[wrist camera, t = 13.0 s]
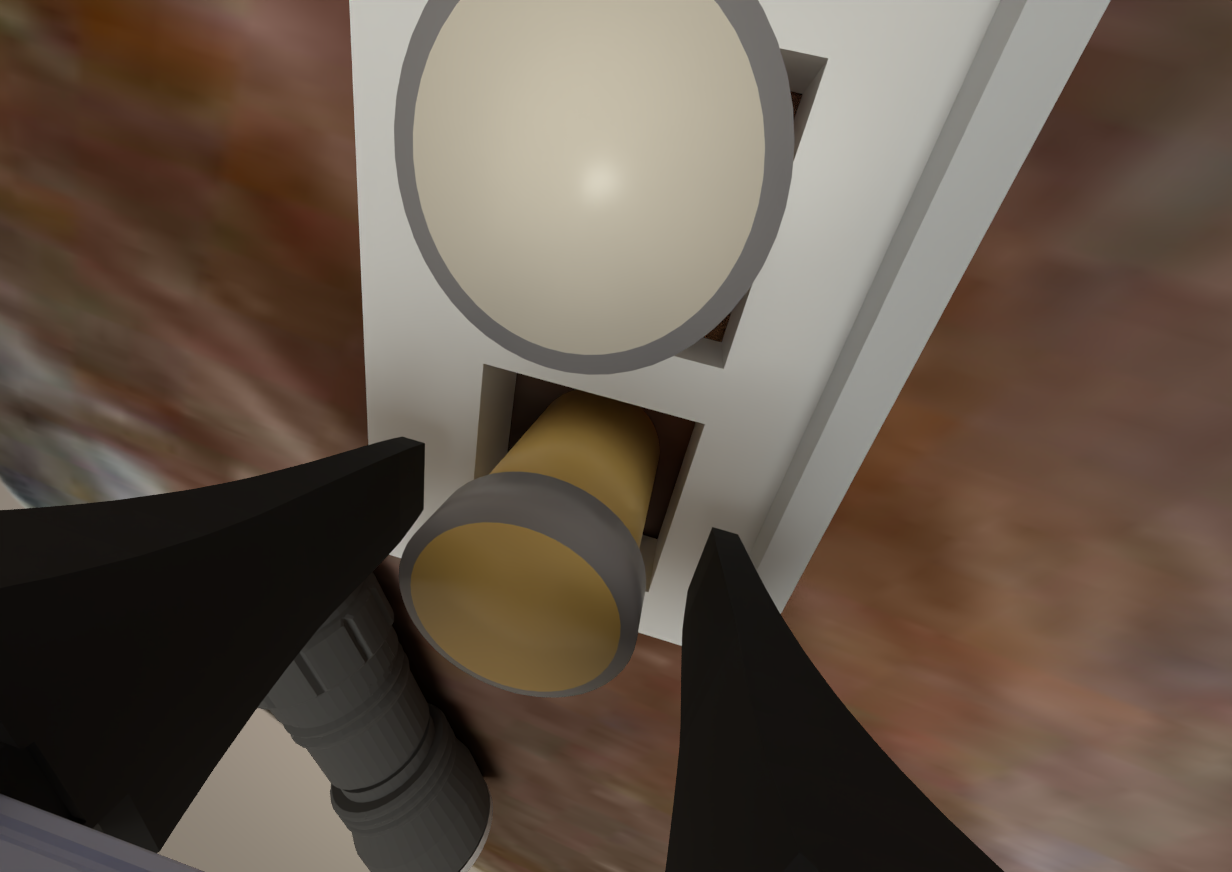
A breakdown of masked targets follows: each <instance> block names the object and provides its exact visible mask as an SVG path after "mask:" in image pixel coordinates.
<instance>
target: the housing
mask: <svg viewBox="0 0 1232 872" xmlns="http://www.w3.org/2000/svg"><path fill="white" fill-rule="evenodd" d="M758 1H759V3H760V4H761V6H762V8H763V10H764V12H765V14H766V16H767V19H768V21H769V23H770V25H771V27H772V30H773V32H774V34H775V36H776V38H777V41H778V44H779V48H780V51H781V54H782V58H783V61H784V64H785V68H786V71H787V75H788V81H789V87H790V91H791V92H796V93H800V94H802V97H801V100H800V103H799V106H798V109H797V112H796V115H795V118H794V142H795V144H794V157H793V169H792V179H791V184H790V189H789V194H788V199H787V204H786V209H785V212H784V215H783V218H782V221H781V224H780V227H779V231H778V234H777V237H776V239H775V241H774V244H773V246H772V248H771V250H770V252H769V255H768V257H767V259H766V261H765V263H764V265H763V267H762V269H761V270H760V272H759V274H758V275H757V277H756V279H755V280H754V282H753V283H752V285H751V287H750V288H749V290H748V291H747V292H746V294H745V295H744V296H743V297H742V299H741V300H740V301H739V303H738V304H737V305H736V306H735V308H734V309H733V310H732V312H731V315H730V318H729V321H728V324H727V327H726V330H725V333H724V336H723V339H722V342H718V341H715V340H711V339H707V338H701V339H700V340H699V341H697V342H696V343H695V344H693V345H692V346H690V347H688V348H687V349H685V350H683V351H681V352H680V353H678V354H676V355H675V356H673V357H670V358H668V359H666V360H663V361H661V362H659V363H656V364H654V365H651V366H648V367H644V368H641V369H637V370H633V371H629V372H622V373H615V374H599V375H586V374H577V373H569V372H563V371H559V370H555V369H551V368H547V367H544V366H541V365H538V364H536V363H533V362H531V361H528V360H525V359H523V358H521V357H519V356H518V355H516V354H514V353H512V352H510V351H508V350H506V349H504V348H503V347H501V346H500V345H499V344H497V343H496V342H494V341H493V340H491V339H490V338H488V337H487V336H486V335H484V334H483V333H482V332H481V331H480V330H479V329H478V328H476V327H475V326H474V325H473V324H472V323H471V322H470V321H468V319H467V318H466V317H465V316H464V315H463V314H462V313H461V312H460V311H459V310H458V309H457V308H456V306H455V305H454V304H453V303H452V302H451V301H450V299H449V298H448V297H447V295H446V294H445V292H444V291H443V290H442V288H441V287H440V286H439V284H438V283H437V281H436V280H435V278H434V276H433V275H432V273H431V271H430V269H429V268H428V266H427V264H426V263H425V261H424V259H423V257H422V254H421V252H420V250H419V248H418V246H417V244H416V241H415V239H414V237H413V234H412V231H411V228H410V225H409V222H408V219H407V217H406V214H405V210H404V206H403V202H402V197H401V193H400V189H399V185H398V177H397V169H396V162H395V146H394V120H395V107H396V95H397V90H398V85H399V79H400V74H401V69H402V65H403V61H404V58H405V55H406V52H407V48H408V45H409V42H410V39H411V36H412V33H413V31H414V29H415V27H416V25H417V22H418V20H419V18H420V16H421V13H422V11H423V9H424V7H425V5H426V4H427V2H428V0H349V3H350V26H351V49H352V73H353V96H354V119H355V142H356V165H357V188H358V211H359V235H360V258H361V281H362V304H363V327H364V350H365V373H366V397H367V420H368V443H369V445H370V444H374V443H377V442H381V441H385V440H388V439H392V438H397V437H406V438H409V439H413V440H416V441H419V442H423V443H425V471H424V510H423V511H422V513H421V514H420V516H419V517H418V519H417V520H416V521H415V523H414V524H413V526H412V527H411V529H410V530H409V531H408V533H407V534H406V535H405V537H404V538H403V539H402V541H401V542H400V543H399V544H398V545H397V546H396V547H395V548H394V550H393V551H392V552H391V553H390V554H389V555H392V556H395V557H398V558H401V557H402V554H403V551H404V549H405V547H406V545H407V543H408V542H409V540H410V539H411V538H412V536H413V535H414V534H415V533H416V532H417V530H418V529H419V528H420V527H421V526H422V525H423V524H424V523H425V522H426V521H427V520H428V519H429V518H430V517H431V516H432V515H433V514H434V512H435V511H436V510H437V509H438V508H439V507H440V506H441V505H442V504H443V503H444V502H445V501H446V500H447V499H448V498H449V497H450V496H451V495H452V494H453V493H454V492H455V491H456V490H457V489H459V488H460V487H462V486H463V485H465V484H466V483H468V482H470V481H472V480H474V479H477V478H479V477H482V476H486V475H489V474H490V473H491V471H492V470H493V469H494V468H495V467H496V466H497V465H498V463H499V462H500V461H501V460H502V459H503V458H504V457H505V455H506V454H507V452H508V444H509V435H510V427H511V419H512V410H513V402H514V393H515V385H516V376H517V373H520V374H523V375H527V376H531V377H534V378H538V379H542V380H545V381H549V382H553V383H556V384H560V385H564V386H567V387H571V388H575V389H578V390H582V391H585V392H589V393H593V394H596V395H600V396H604V397H607V398H611V399H615V400H618V401H622V402H626V403H629V404H633V405H637V406H640V407H644V408H648V409H651V410H655V411H658V412H662V413H666V414H669V415H673V416H677V417H680V418H684V419H688V420H691V421H695V425H694V429H693V432H692V435H691V438H690V441H689V444H688V447H687V450H686V453H685V456H684V459H683V462H682V465H681V468H680V471H679V475H678V478H677V481H676V484H675V487H674V490H673V493H672V496H671V499H670V502H669V505H668V508H667V511H666V514H665V518H664V521H663V524H662V527H661V530H660V533H659V536H658V539H655V538H652V537H648V536H645V535H642V539H641V543H640V548H639V550H640V552H641V555H642V558H643V562H644V566H645V573H646V590H645V596H644V601H643V607H642V612H641V618H640V624H639V629H638V632H639V633H642V634H645V635H649V636H652V637H655V638H658V639H662V640H665V641H668V642H671V643H674V644H678V645H681V646H682V628H683V620H684V612H685V605H686V598H687V591H688V588H689V585H690V583H691V580H692V578H693V575H694V572H695V570H696V567H697V565H698V562H699V560H700V557H701V554H702V552H703V549H704V547H705V544H706V542H707V539H708V537H709V534H710V531H711V529H712V527H714V528H718V529H721V530H725V531H728V532H732V533H735V534H738V535H739V537H740V539H741V541H742V543H743V545H744V547H745V549H746V551H747V553H748V555H749V557H750V559H751V561H752V563H753V565H754V567H755V569H756V571H757V572H758V574H759V576H760V578H761V580H762V582H763V584H764V586H765V588H766V590H767V591H768V593H769V595H770V597H771V598H772V600H773V602H774V604H775V605H776V607H777V609H778V611H779V613H780V614H781V612H782V611H783V609H784V607H785V605H786V603H787V601H788V599H789V598H790V596H791V594H792V592H793V590H794V588H795V586H796V585H797V583H798V581H799V579H800V577H801V575H802V573H803V572H804V570H805V568H806V566H807V564H808V562H809V560H810V559H811V557H812V555H813V553H814V551H815V549H816V547H817V545H818V544H819V542H820V540H821V538H822V536H823V534H824V532H825V531H826V529H827V527H828V525H829V523H830V521H831V519H832V518H833V516H834V514H835V512H836V510H837V508H838V506H839V505H840V503H841V501H842V499H843V497H844V495H845V493H846V492H847V490H848V488H849V486H850V484H851V482H852V480H853V479H854V477H855V475H856V473H857V471H858V469H859V467H860V465H861V464H862V462H863V460H864V458H865V456H866V454H867V452H868V451H869V449H870V447H871V445H872V443H873V441H874V439H875V438H876V436H877V434H878V432H879V430H880V428H881V426H882V425H883V423H884V421H885V419H886V417H887V415H888V413H889V412H890V410H891V408H892V406H893V404H894V402H895V400H896V399H897V397H898V395H899V393H900V391H901V389H902V387H903V385H904V384H905V382H906V380H907V378H908V376H909V374H910V372H911V371H912V369H913V367H914V365H915V363H916V361H917V359H918V358H919V356H920V354H921V352H922V350H923V348H924V346H925V345H926V343H927V341H928V339H929V337H930V335H931V333H932V332H933V330H934V328H935V326H936V324H937V322H938V320H939V319H940V317H941V315H942V313H943V311H944V309H945V307H946V305H947V304H948V302H949V300H950V298H951V296H952V294H953V292H954V291H955V289H956V287H957V285H958V283H959V281H960V279H961V278H962V276H963V274H964V272H965V270H966V268H967V266H968V265H969V263H970V261H971V259H972V257H973V255H974V253H975V252H976V250H977V248H978V246H979V244H980V242H981V240H982V239H983V237H984V235H985V233H986V231H987V229H988V227H989V225H990V224H991V222H992V220H993V218H994V216H995V214H996V212H997V211H998V209H999V207H1000V205H1001V203H1002V201H1003V199H1004V198H1005V196H1006V194H1007V192H1008V190H1009V188H1010V186H1011V185H1012V183H1013V181H1014V179H1015V177H1016V175H1017V173H1018V172H1019V170H1020V168H1021V166H1022V164H1023V162H1024V160H1025V159H1026V157H1027V155H1028V153H1029V151H1030V149H1031V147H1032V146H1033V144H1034V142H1035V140H1036V138H1037V136H1038V134H1039V132H1040V131H1041V129H1042V127H1043V125H1044V123H1045V121H1046V119H1047V118H1048V116H1049V114H1050V112H1051V110H1052V108H1053V106H1054V105H1055V103H1056V101H1057V99H1058V97H1059V95H1060V93H1061V92H1062V90H1063V88H1064V86H1065V84H1066V82H1067V80H1068V79H1069V77H1070V75H1071V73H1072V71H1073V69H1074V67H1075V66H1076V64H1077V62H1078V60H1079V58H1080V56H1081V54H1082V52H1083V51H1084V49H1085V47H1086V45H1087V43H1088V41H1089V39H1090V38H1091V36H1092V34H1093V32H1094V30H1095V28H1096V26H1097V25H1098V23H1099V21H1100V19H1101V17H1102V15H1103V13H1104V12H1105V10H1106V8H1107V6H1108V4H1109V2H1110V0H758Z"/></svg>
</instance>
